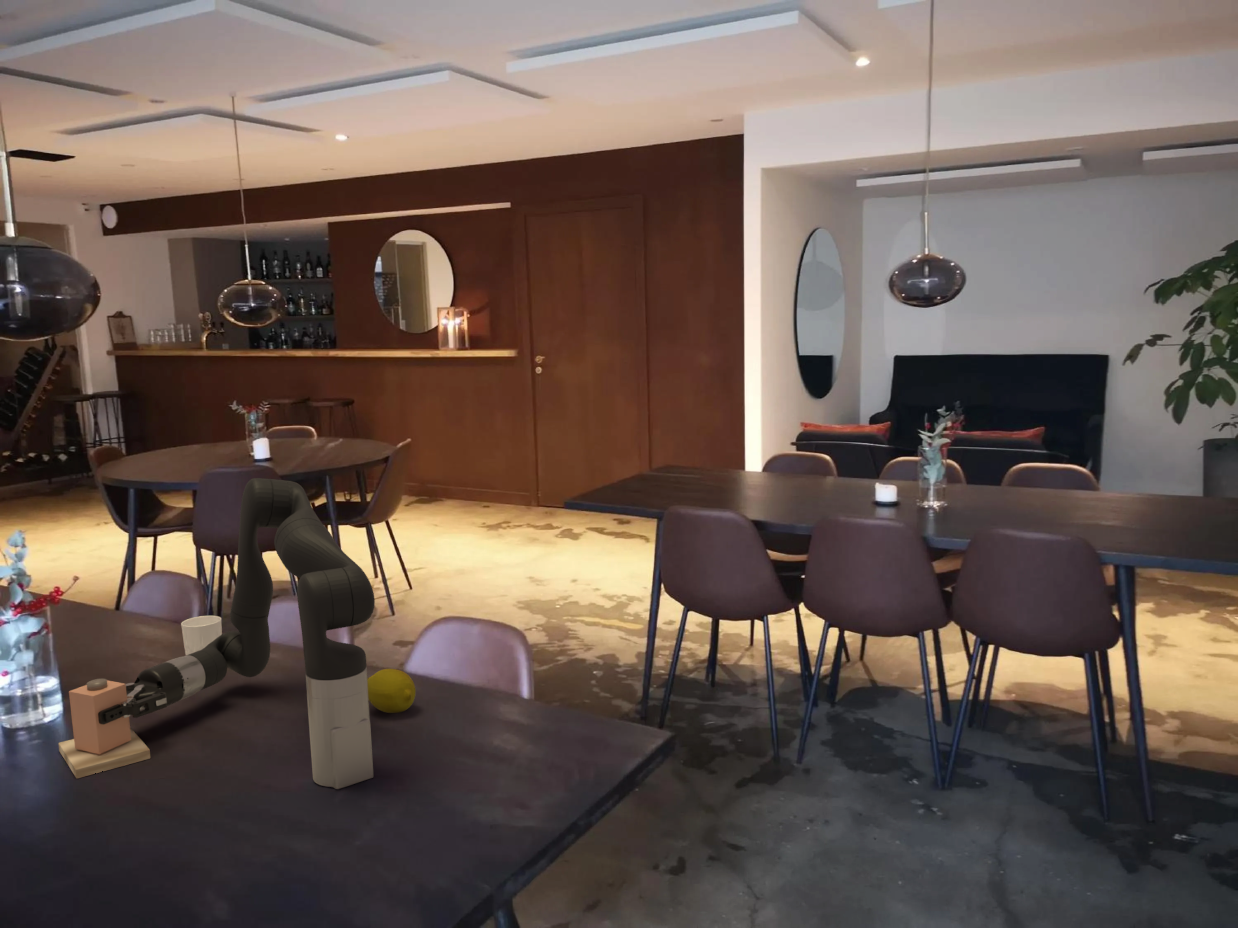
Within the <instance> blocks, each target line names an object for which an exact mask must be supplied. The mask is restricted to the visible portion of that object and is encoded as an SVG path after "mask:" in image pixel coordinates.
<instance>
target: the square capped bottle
mask: <svg viewBox="0 0 1238 928" xmlns="http://www.w3.org/2000/svg"><path fill="white" fill-rule="evenodd" d="M126 684H127V683H123V682H118V681H112V680H108V679H107V678H96V679H92V680H90V681H87V682H86V684H85V685H82V686H80V687H76V688H74V689H71V690H69V691H68V697H69V703H70V704H69V705H70V713H71V723H72V732H73V733H72V734H73V739H74V743H75V749H79V750H83V751H87V752H91V753H96V754H101V753H104V752H106V751H108V750H110V749H113V748H115V747H117V746H119V745H122V744H124V743H126V742H128V741H131V732H130V728H131V726H130V725H131V724H130V716H129V717H127V718H123V717H121V718H118V719H116V720H114V721H111V722H109V723H106V724H100V723H99V719H98V713H99V712H100V711H102V710H104V709H107V708H109V707H112V706H114V705H117V704H120V706H121V702H123V701H125V700H127V693H126Z"/></svg>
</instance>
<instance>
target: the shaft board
mask: <svg viewBox="0 0 1238 928" xmlns="http://www.w3.org/2000/svg"><path fill="white" fill-rule="evenodd" d="M130 732H131V741H128V742H126V743H124V744H122V745H119V746H117V747H115V748H113V749H110V750H108V751H106V752H104V753H101V754H96V753H91V752H87V751H83V750H79V749H75V743H74V738H72V739H69V740H63V741H61V742H58V751H59V753H60V755H61V756H62V757H63V759H64V761H65V762H66V764H67V766H68V767H69V769H70V770H71V772H72V774H73V775H74V777H75V778H76V779H81V778H84V777H87V776H92V775H94V774H95V773H96V774H98V773H103V772H106V771H110V770H113V769H117V768H120V767H124V766H128V765H132V764H135V763H138V762H142V761H146V760H149V759H151V751H150V748H149V747H148V746H147V745H146V744H145V742H144V741H143V740H142V739H141V738H140V737H139V736H138V734H137V733H135V731H134V730H133V728H131V727H130ZM102 771H103V772H102ZM96 774H95V775H96Z"/></svg>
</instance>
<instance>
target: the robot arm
mask: <svg viewBox="0 0 1238 928" xmlns="http://www.w3.org/2000/svg"><path fill="white" fill-rule="evenodd" d="M241 496H242V497H241V503H240V514H239V528H238V529H239V530H238V531H239V532H238V541H237V542H238V546H237V548H238V549H237V567H236V568H237V569H236V580H235V585H234V586H235V587H234V590H233V591H234V592H233V597H232V602H231V606H230V613H229V620H230V623H231V624H232V626H234V628H236V629H237V630H230V631H226V632H222V635H220V636H219V637H217V638H216V639H215V640H214V641H212V642H211V643H210V644H208V645H207V646H206V647H205V648H203V649H202V650H200V651H197V652H194V653H191V654H189V655H186V654H185V655H184V656H183V655H182V656H179V657H176V658H172V659H169V660H167V661H164V662H161V663H158V664H155V665H154V666H151V667H149V668H146V669H143V670H142V671H140V673H139V674H138V676H137V678H136V680H135V681H134V682H128V683H125V684H126V693H127V700H125V701H123V702H121V706H120V704H117V705H114V706H112V707H109V708H107V709H104V710H102V711H100V712H99V713H98V719H99V723H100V724H106V723H109V722H111V721H114V720H116V719H118V718H121V717H123V718H127V717H129V718H130V717H131V716H132V718H133V719H138V718H141V717H144V716H146V715H147V714H151V713H154V712H156V711H159V710H163V709H165V708H167V707H168V706H170V705H173V704H175V703H178V702H180V701H182V700H185V699H187V698H190V697H191V696H193V695H195V694H197V693H198V692H200V691H202V690H204V689H207V688H209V687H212V686H214V685H217V684H218V683H220V682H221V681H223V679H224V678H225V677H226V675H227V672H228V669H230V670H232V671H233V672H235V673H237V674H239V675H241V676H243V677H245V678H253V677H256V676H258V675H260V673H262V672H263V671H264V670H265V668H266V667H267V666H268V663H269V660H270V657H271V637H270V628H269V616H270V610H271V605H272V600H273V594H274V583H273V579H272V575H271V573H270V570H269V569H268V566H267V564H266V563H265V560H264V558H263V555H262V553H261V551H260V548H259V543H258V529H259V528H265V529H268V528H269V529H277V530H276V533H275V535H274V541H273V543H274V549H275V551H276V554H277V556H278V558H279V560H280V561H281V563H282V564H283V566H284V567H285V569H286V570H287V571H288V572H289V573H291V574H292V575H293V576H295V577H297V578H299V580H298V584H297V588H296V589H297V591H296V592H297V596H296V597H297V605H298V606H297V607H298V614H299V620H300V621H299V622H300V630H301V639H302V647H303V648H302V649H303V651H302V652H303V658H304V659H303V660H304V671H305V672H304V673H305V684H306V685H305V686H306V687H305V688H306V699H307V701H306V702H307V714H308V727H309V728H308V729H309V731H308V732H309V743H310V756H311V758H310V759H311V768H312V769H311V770H312V772H311V773H312V779H313V782H314V783H316V784H317V785H319V786H321V787H322V786H323V787H329V788H330V787H331V788H334V789H335V790H340V789H343V788H346V787H349V786H352V785H354V784H358V783H361V782H363V781H364V782H365V781H366V780H369V779H372V778H374V764H373V761H374V760H373V750H372V749H373V747H372V732H371V731H372V730H371V717H370V703H369V702H370V701H369V699H368V681H367V679H368V667H367V655H366V652H365V650H364V649H363V647H360V646H359V645H356V644H353V643H352V644H351V643H346V642H339V641H335V640H332V639H330V638H328V636H327V631H331V630H338V629H343V628H349V627H354V626H358V625H361V624H363V623H365V622H367V621H369V619H370V618H371V616H372V615H373V613H374V610H375V604H376V598H375V593H374V589H373V586H372V584H371V582H370V579H369V578H368V576H367V574H366V573H365V572H364V570H363V569H362V567H361V566H360V565H358V564H357V563H356V562H355V561H354V560H353V559H352V558H351V557H349V556H348V555H347V553H345V552H344V551H343V550H342V549H341V548H340V546H339V545H338V543H337V542H336V541H335V539H334V536H333V535H332V534H331V533H330V531H329V530H328V528H327V527H326V525H325V524H324V523H323V522H322V521H321V519H320V518H319V517H318V515H317V514H316V511H314V508H313V507H312V505H311V502H310V500H309V497H308V495H307V493H306V490H305V489H304V487H302V485H300V484H299V483H297V482H296V481H292V480H284V479H272V478H260V477H257V478H256V477H254V478H251V479H249V481H247V483H246V484H245V487H244V490H243V493H242V495H241Z"/></svg>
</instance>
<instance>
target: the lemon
mask: <svg viewBox="0 0 1238 928" xmlns="http://www.w3.org/2000/svg"><path fill="white" fill-rule="evenodd" d="M367 681H368V699H369V702H370V704H371V705H372V706H373V707H374V708H375V709H377V710H378V711H381V712H383V713H388V714H399V713H403V712H405V711H407V710H408V709H409V708H411V706H412V705H413V704H414V701H415V698H416V685H415V683H414V681H413V679H412V677H410V675H409V674H408V673H406V672H404V671H403V670H400V669H395V668H384V669H381V670H378V671H377V672H375V673H373V675H371V676H369V677H367Z"/></svg>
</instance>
